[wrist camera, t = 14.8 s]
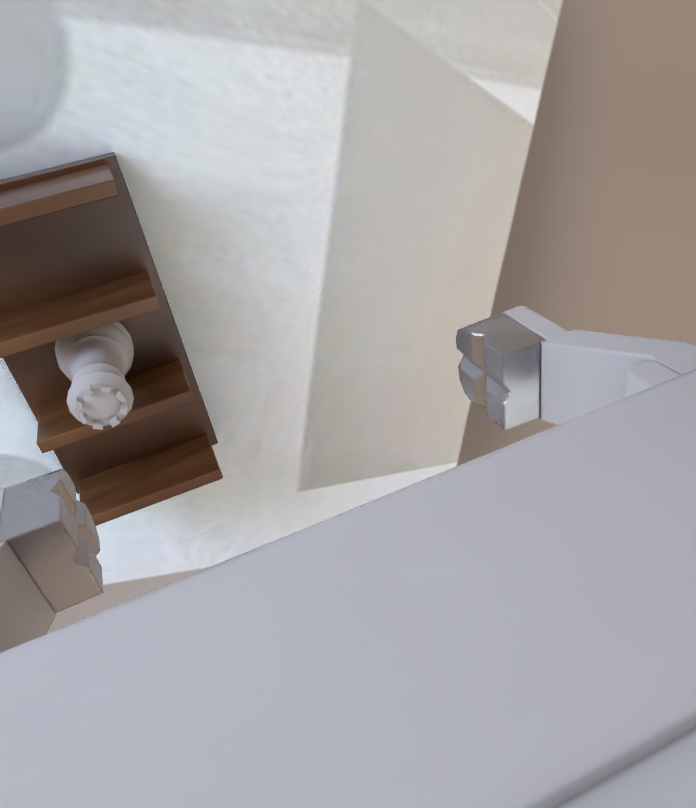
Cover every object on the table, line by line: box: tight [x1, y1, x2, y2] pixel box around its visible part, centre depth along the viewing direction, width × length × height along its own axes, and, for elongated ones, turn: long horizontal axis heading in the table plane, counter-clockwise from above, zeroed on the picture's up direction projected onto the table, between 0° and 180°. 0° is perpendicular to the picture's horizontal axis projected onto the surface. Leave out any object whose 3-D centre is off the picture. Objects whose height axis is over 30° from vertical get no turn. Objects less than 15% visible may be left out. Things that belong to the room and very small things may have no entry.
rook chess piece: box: [55, 322, 134, 430], centre depth 36 cm, size 4×4×8 cm
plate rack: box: [0, 153, 223, 526], centre depth 37 cm, size 20×10×6 cm, turn 10°
